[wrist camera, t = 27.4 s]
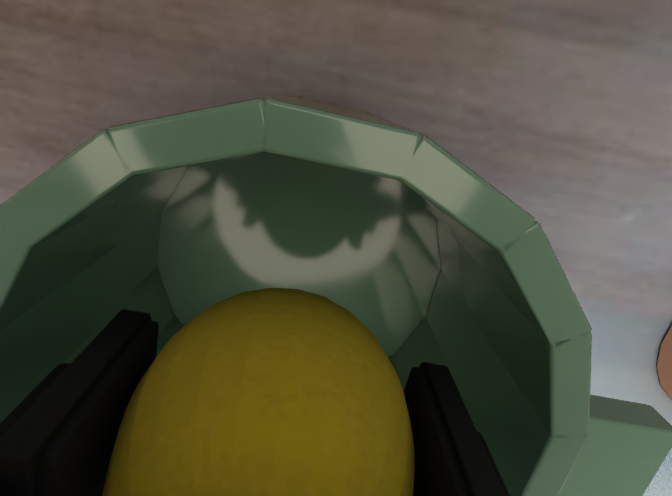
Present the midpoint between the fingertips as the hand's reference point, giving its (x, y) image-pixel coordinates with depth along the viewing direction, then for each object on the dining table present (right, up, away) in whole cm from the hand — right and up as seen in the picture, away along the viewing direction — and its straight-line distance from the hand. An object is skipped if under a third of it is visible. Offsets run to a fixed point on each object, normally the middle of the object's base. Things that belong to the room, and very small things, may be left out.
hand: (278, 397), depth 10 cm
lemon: (0, +1, +3) cm, 3 cm away
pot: (0, +3, +8) cm, 8 cm away
